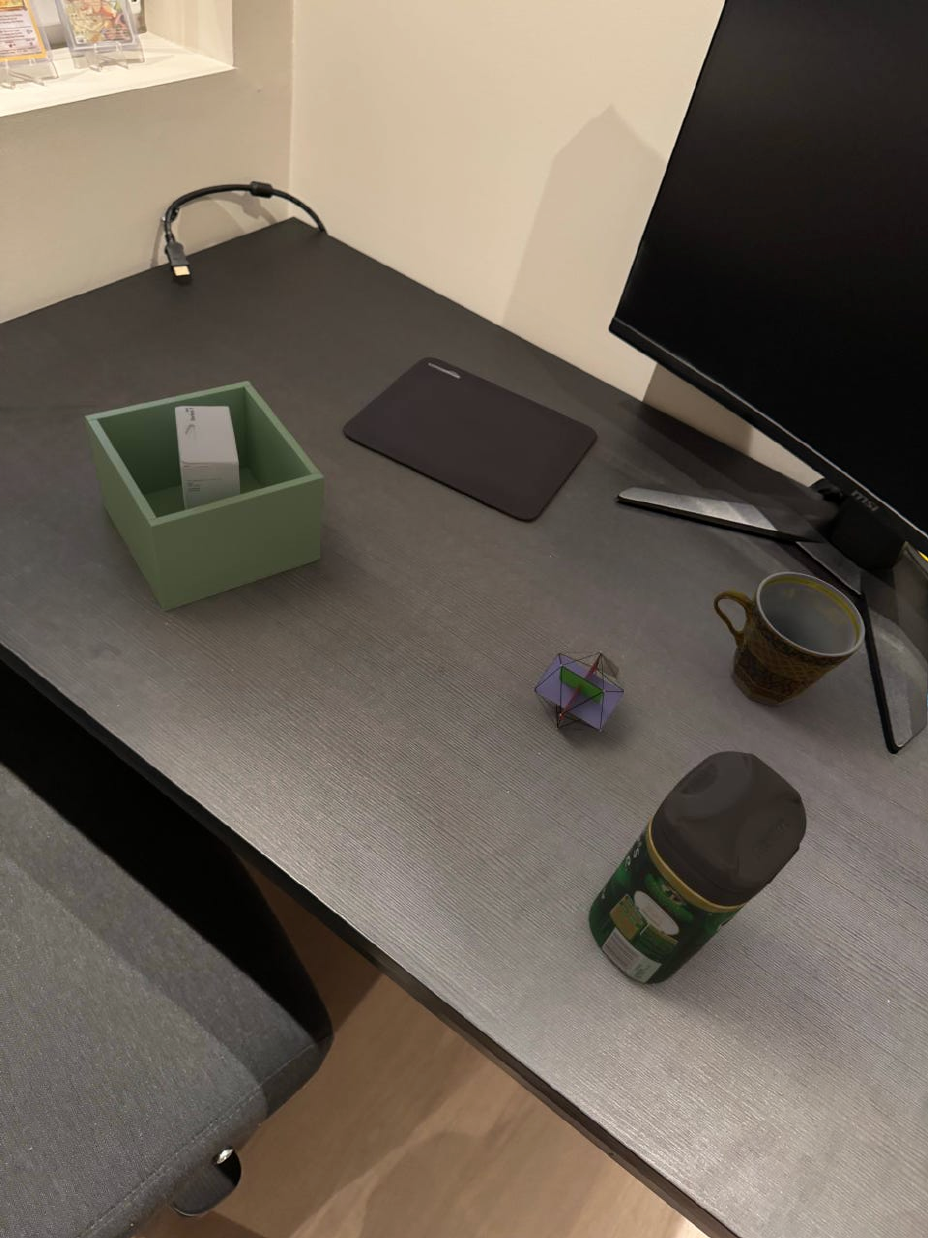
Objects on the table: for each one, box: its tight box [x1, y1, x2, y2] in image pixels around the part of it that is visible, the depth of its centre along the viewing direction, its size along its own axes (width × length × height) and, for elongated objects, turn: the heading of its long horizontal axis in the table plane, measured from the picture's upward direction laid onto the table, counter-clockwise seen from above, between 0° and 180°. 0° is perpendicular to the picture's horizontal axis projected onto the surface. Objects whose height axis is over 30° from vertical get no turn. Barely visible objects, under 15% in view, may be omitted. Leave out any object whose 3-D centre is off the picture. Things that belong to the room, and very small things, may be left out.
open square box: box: [84, 380, 325, 612], centre depth 79 cm, size 16×16×10 cm
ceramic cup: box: [713, 571, 866, 708], centre depth 79 cm, size 13×10×10 cm
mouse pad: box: [342, 356, 597, 521], centre depth 100 cm, size 25×21×1 cm
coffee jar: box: [588, 750, 808, 985], centre depth 57 cm, size 10×8×19 cm
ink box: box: [175, 406, 240, 510], centre depth 78 cm, size 8×5×12 cm, turn 16°
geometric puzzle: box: [532, 651, 626, 732], centre depth 73 cm, size 7×7×8 cm
